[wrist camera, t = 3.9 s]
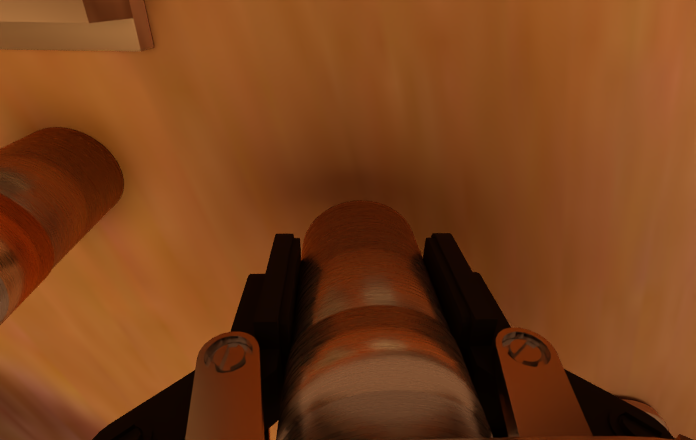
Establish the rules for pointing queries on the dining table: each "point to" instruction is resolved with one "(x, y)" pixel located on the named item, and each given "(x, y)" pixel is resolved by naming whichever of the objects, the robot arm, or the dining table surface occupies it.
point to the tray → (74, 25)
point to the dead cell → (372, 339)
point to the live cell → (49, 204)
